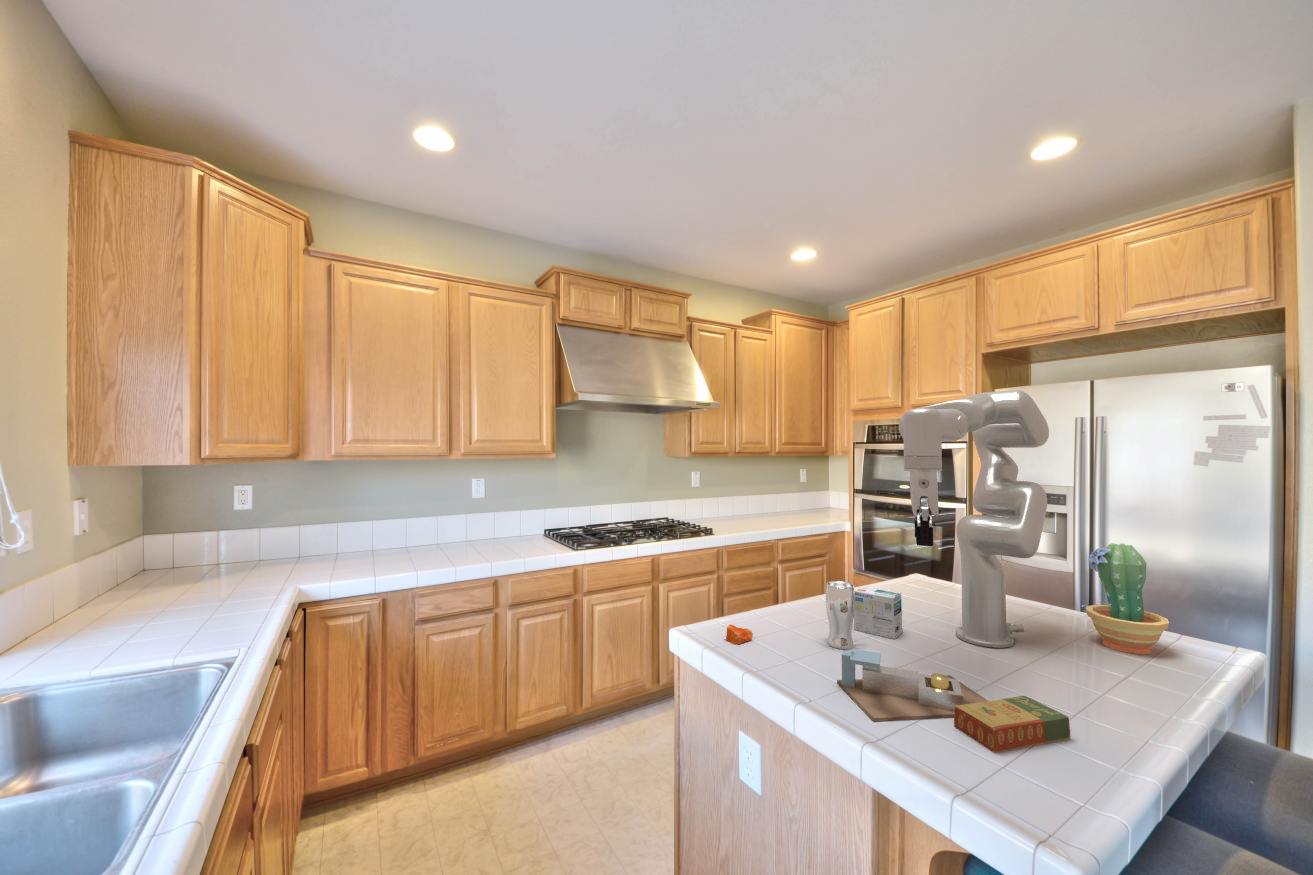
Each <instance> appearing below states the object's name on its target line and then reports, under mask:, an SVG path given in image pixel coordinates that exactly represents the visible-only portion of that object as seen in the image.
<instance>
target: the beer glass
mask: <svg viewBox="0 0 1313 875" xmlns="http://www.w3.org/2000/svg"><path fill="white" fill-rule="evenodd" d="M854 590H855V585H854V584H853V583H851V582H847V581H842V580H841V581H840V580H830V581H827V582H826V590H825V608H826V614H827V621H828V626H829V627H828V628H829V630H828V631H829V632H828V639H827V645H829V646H830V647H831V648H834V649H837V650H838V649H839V650H852V649H854V646H855V643H854V640H853V632H852V631H853V626H854V623H853V622H854V613H855V591H854Z"/></svg>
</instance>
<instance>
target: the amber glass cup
mask: <svg viewBox="0 0 1313 875" xmlns="http://www.w3.org/2000/svg"><path fill="white" fill-rule="evenodd" d="M930 675H931V688H936V689H941V690H947V691H949V678H948V677H947V676H946V675H945V674H943V673H931V674H930Z"/></svg>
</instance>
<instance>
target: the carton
mask: <svg viewBox="0 0 1313 875" xmlns="http://www.w3.org/2000/svg"><path fill="white" fill-rule="evenodd" d="M953 727H954V728H955V729H957V730H959V731H960V732H962V733H963V734H965V735H966V736H968V737H970V738H971V739H973V740H974V741H975V742H977V743H979V745H982V746H983V747H984V748H986V749H988V751H990V752H992V753H1000V752H1005V751H1011V750H1018V749H1023V748H1027V747H1033V746H1039V745H1044V744H1050V743H1056V742H1063V741H1069V740H1071V728H1070V719H1069V716H1068V715H1066V714H1064V713H1061V712H1059V711H1057V709H1056V710H1055V709H1054V708H1051V707H1049V706H1048V705H1046V704H1043V703H1040V702H1039V701H1037V700H1035V699H1032V697H1031V698H1030V697H1029V696H1026V695H1020V696H1019V695H1018V696H1014V697H1007V698H1000V699H994V700H993V699H992V700H988V701H985V702H978V703H971V704H965V705H958V706H955V707H954V717H953Z"/></svg>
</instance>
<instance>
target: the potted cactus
mask: <svg viewBox="0 0 1313 875" xmlns="http://www.w3.org/2000/svg"><path fill="white" fill-rule="evenodd" d="M1088 563H1089V564H1088V565H1089V567H1090V570H1094V571H1095V572H1096V573H1097V572H1098V573H1097V574H1098V577H1099V579H1100V581H1101V583H1102V584H1103V585H1102V586H1104V590H1105V594H1106V599H1107V602H1108V604H1093V605H1092V604H1091V605H1086V607H1085V612H1086V616H1087V617H1089V618H1090V619H1091V621H1092V624H1093V626H1094V629H1095V630H1096V632H1097V633H1098V634H1099V635H1100V637H1101V638H1102V644H1103V645H1105V647H1108V648H1111V649H1113V650H1117V651H1119V652H1124V653H1129V654H1133V655H1134V654H1135V655H1136V654H1138V655H1147V654H1149V655H1150V654H1152V648H1151V647H1153V646H1154V645H1156V643H1158V641H1159V640H1160V638H1161V637H1162V634H1163V632H1164V630H1165V631H1166V630H1168V629H1169V625H1170V622H1169V618H1166V617H1164V616H1162V615H1160V614H1157V613H1154V612H1151V611H1146V610H1145V609H1144V597H1143V588H1144V586H1145V582H1146V579H1147V562H1146V560H1145V558H1144V557H1143V555H1141V553H1140V552H1139V551H1138V550H1137V549H1136V548H1135V547H1134V546H1133V545H1132V544H1128V545H1127V544H1125V543H1120V544H1116V543H1113V542H1111V543H1109V544H1108V545H1107V546H1106V547H1098V548H1095V549H1094V550H1093V551H1092V552H1091V553H1090V555H1089V556H1088Z"/></svg>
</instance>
